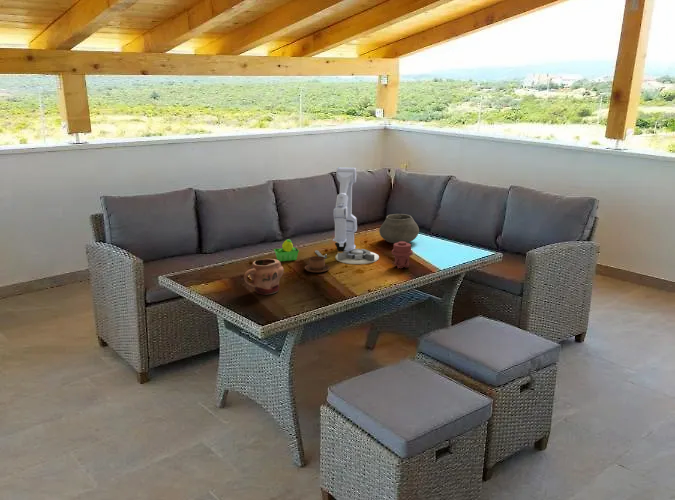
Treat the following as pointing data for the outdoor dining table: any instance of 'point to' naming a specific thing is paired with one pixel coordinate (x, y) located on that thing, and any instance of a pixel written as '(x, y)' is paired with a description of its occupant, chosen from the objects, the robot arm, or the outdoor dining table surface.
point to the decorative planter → (265, 276)
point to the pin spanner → (320, 254)
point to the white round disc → (368, 259)
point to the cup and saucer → (317, 264)
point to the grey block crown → (348, 254)
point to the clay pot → (399, 228)
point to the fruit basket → (287, 252)
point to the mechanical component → (402, 254)
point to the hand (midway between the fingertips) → (340, 256)
